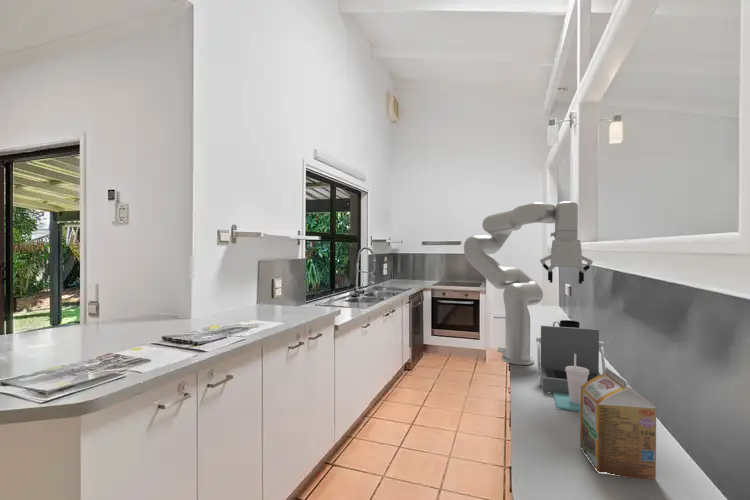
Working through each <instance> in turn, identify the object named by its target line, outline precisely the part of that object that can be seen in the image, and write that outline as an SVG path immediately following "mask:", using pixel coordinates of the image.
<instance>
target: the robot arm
mask: <svg viewBox="0 0 750 500" xmlns="http://www.w3.org/2000/svg"><path fill="white" fill-rule="evenodd" d="M578 221H579V204H578V203H577V202H576V201H561V202H557V203H548V202H547V203H546V202H531V203H528V204H527V203H526V204H523V205H518V206H517V207H515V208H514V209H511V210H507V211H501V212H498V213H493V214H490V215H488V216H486V217H485V218H483V220H482V228H483V230H484V232H486V233H488V234H489V235H485V234H484V235H483V234H482V235H479V234H477V235H476V234H475V235H472V236H469V237H468V238H466V240H465V241H464V244H463V252H464V257H465V259H466V260H467V262H468V263H469V264H470V265H471V266H472V267H473V268H474V269H476V271H478V272H479V273H480V274H481V275H482V276H483V277H484V278H485V279H486V281H488V282H489V283H490V284H491V285H492V286H493V287H494V288H495V289H498V290H504V291H503V292H502V293H503V294H502V297H503V298H502V299H503V302H504V303H503V304H504V310H505V339H504V342H505V343H504V344H505V347H504V346H498V347H497V352H498V353H501V354H502V355H500V356H501V359H500V360H501V361H502V362H504V363H507V364H512V365H518V366H519V365H520V366H527V365H529V366H530V365H533V364H534V363H535V359H534V358H533V357H531V314H530V311H529V308H528V306H534V305H538V304H540V303H541V302H542V300H543V297H544V293H543V289H542V288H541V286H540V285H539V284H538V283H537V282H536V281H535V280H534V279H533V278H532V277H530V276H529V275H528V274H527V273H526V272H525V271H523V270H522V269H520V268H518V267H515V266H504V265H502V264H500V263H499V262H497V260H496V259H495V258H493V257H491V256H489V255H494V254H496V253H497V252H499V251H500V250H501V248H502V247H503V246H504V244H505V243H506V241H507V240H508V239H509V237H510V236H511V234H512V232H514V231H515V232H516V231H519V230H520V229H521V228H522V227H523V226H525V225H529V224H535V223H537V224H538V223H541V224H554V231H553V232H550V237H553V238H554V239H552V242H551V248H550V255H548V256H545V257H542V258H541V259H539V261H540V263H541V265H542V267H543V269H545V270H546V271H547V281H549V283H550V284H552V283H553V282H554V281H553V279H554V277H553V275H554V274H553V270H554V269H555V268H577V269H578V284H580V285H582V284H583V282H584V281H585V278H584V277H585V273H586V271H588V270H589V269H590V267H591V266H592V264H593V263H594V262H593V260H592V259H591V258H588V257H585V256H583V252H582V243H581V239H579V238H578V236H579V235H578V234H579V232H578V228H579V225H578V224H579V222H578ZM547 261H550V265H549V266H548V265H547V263H546V262H547ZM583 261H584V262H586V265H584V267H582V264H583Z"/></svg>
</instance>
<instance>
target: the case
mask: <svg viewBox="0 0 750 500" xmlns="http://www.w3.org/2000/svg"><path fill="white" fill-rule="evenodd" d="M536 345H537V346H536V348H537V351H536V352H537V354H536V355H537V369H536V375H537V376H538V377H539V376H540V383H541V389H542V392H543V393H546V392H550V393H549V394H554V393H561V394H569V389H568V381H567V373H566V371H565V367H567V366H574V354H576V366H579V367H584V368H587V369H588V370H589V375H588V379H587V382H588V381H589V380H591V379H593V378H595V377H597V376H599V375H602V374H604V373H605V371H606V361H605V351H604V350H605V349H604V347H605V346H604V345H605V343H604V342H603V341H600V329H595V328H586V327H585V328H584V327H579V328H571V327H559V326H557V325H554V326H553V325H540V336H536ZM600 354H601V355H600ZM599 355H600V356H601V357H600V356H599ZM599 357H600V358H601V365H602V368H601V369H602V374H601V373H600V372H599V371H600V368H599V367H600V366H599V364H600V361H599V360H600V358H599Z"/></svg>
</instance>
